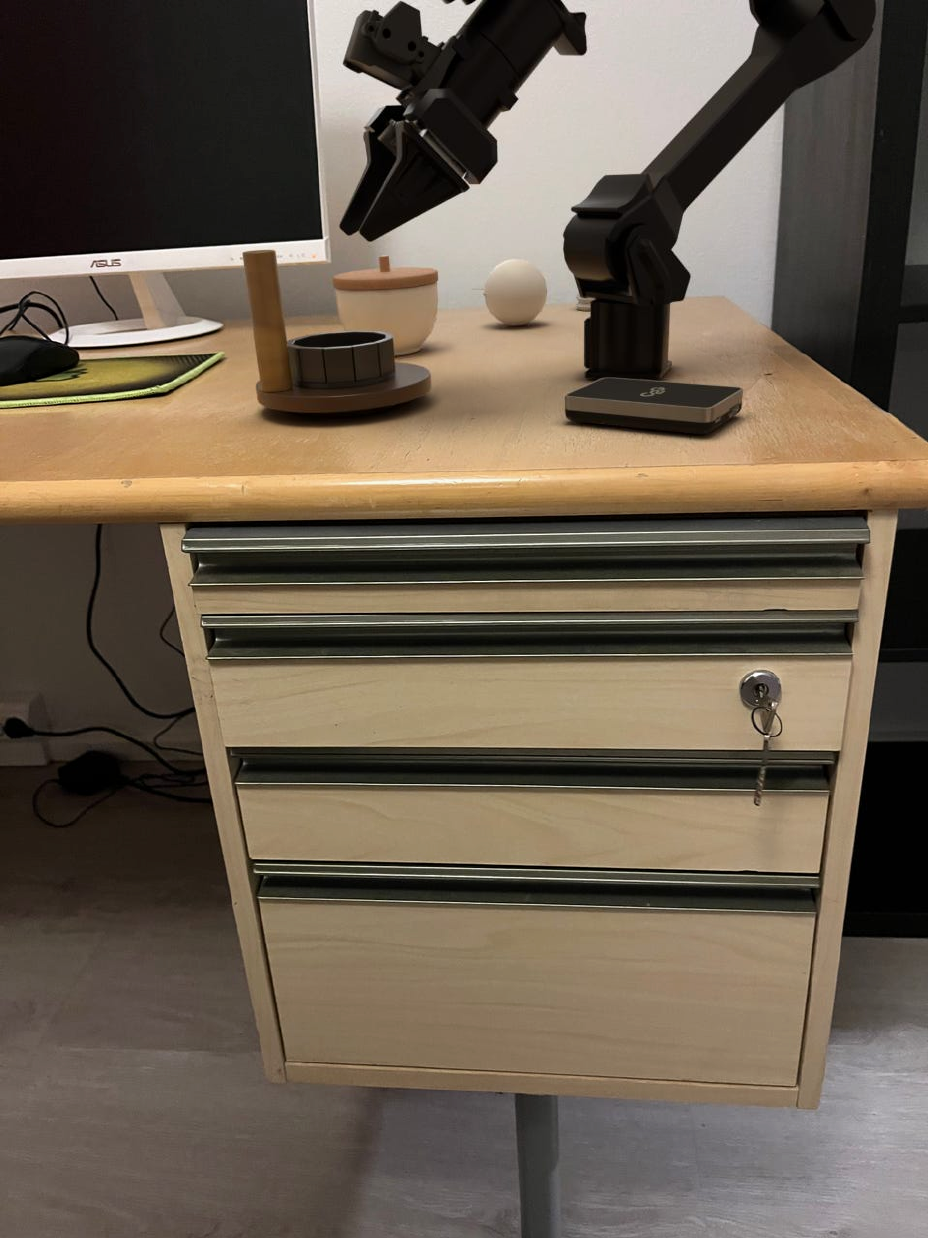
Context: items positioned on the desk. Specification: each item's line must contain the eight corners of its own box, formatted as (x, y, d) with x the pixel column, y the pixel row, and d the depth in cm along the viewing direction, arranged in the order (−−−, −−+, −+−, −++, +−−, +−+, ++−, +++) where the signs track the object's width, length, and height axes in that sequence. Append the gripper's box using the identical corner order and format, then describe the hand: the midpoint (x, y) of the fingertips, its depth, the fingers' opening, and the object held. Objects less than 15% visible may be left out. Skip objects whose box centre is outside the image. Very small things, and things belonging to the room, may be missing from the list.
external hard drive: (708, 439, 63) (710, 408, 62) (560, 423, 69) (559, 395, 68) (743, 415, 68) (745, 387, 67) (602, 403, 74) (603, 376, 73)
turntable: (377, 368, 86) (366, 234, 81) (465, 391, 75) (457, 238, 70) (230, 393, 79) (208, 249, 74) (304, 422, 68) (283, 256, 64)
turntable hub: (411, 395, 80) (410, 383, 79) (369, 419, 73) (368, 406, 72) (326, 393, 82) (325, 381, 82) (278, 415, 76) (276, 402, 75)
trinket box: (429, 359, 94) (422, 258, 90) (326, 361, 96) (315, 262, 92) (452, 341, 104) (447, 249, 100) (358, 342, 106) (349, 252, 102)
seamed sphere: (561, 323, 111) (560, 256, 108) (515, 332, 107) (514, 262, 104) (502, 317, 118) (500, 254, 115) (457, 325, 114) (454, 260, 111)
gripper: (381, -12, 73) (255, 156, 75) (440, -68, 57) (277, 148, 59) (483, 102, 78) (363, 255, 80) (565, 80, 62) (410, 273, 64)
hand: (353, 234), depth 71 cm, fingers open, 9 cm apart
